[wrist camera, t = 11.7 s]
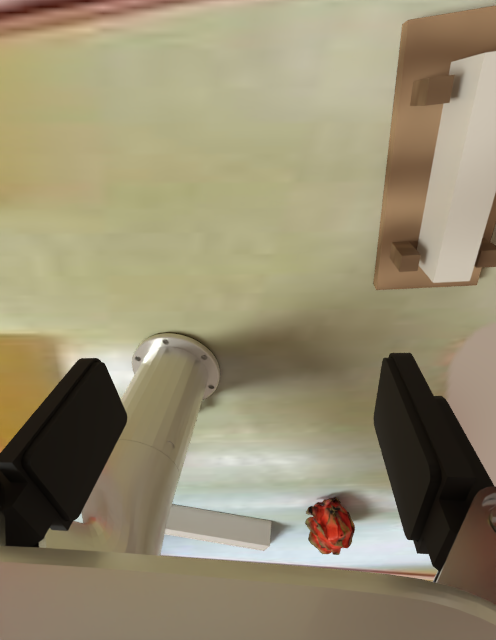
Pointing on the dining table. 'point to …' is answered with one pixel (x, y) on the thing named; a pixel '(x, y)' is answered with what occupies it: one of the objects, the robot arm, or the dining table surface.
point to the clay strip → (461, 173)
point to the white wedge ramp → (219, 527)
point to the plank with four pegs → (425, 140)
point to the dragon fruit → (330, 527)
